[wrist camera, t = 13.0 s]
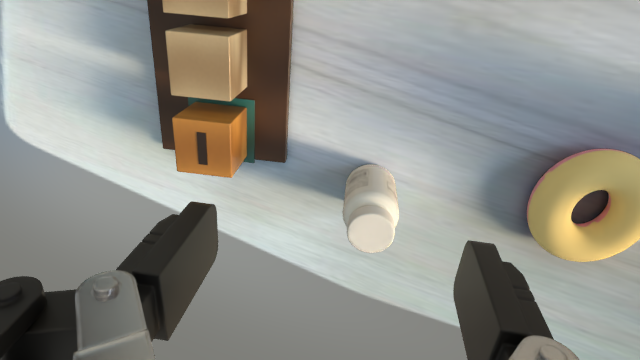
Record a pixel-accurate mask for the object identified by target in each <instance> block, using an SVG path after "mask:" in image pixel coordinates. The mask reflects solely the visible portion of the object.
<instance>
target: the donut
mask: <svg viewBox="0 0 640 360" xmlns="http://www.w3.org/2000/svg"><path fill="white" fill-rule="evenodd" d="M597 190H606V191H607V192H608V194H609V200H608V203H607V206H606V207H605V209H604V210H603V212H602V213H601V214H600V215H599V216H597V217H596V218H595V219H593V220H591V221H589V222H586V223H582V224H576V223H573V222H572V220H571V214H572V210H573V208H574V207H575V205H576V204H577V202H578V201H579V200H580V199H581V198H583V197H584V196H585V195H587V194H589V193H591V192H593V191H597ZM527 221H528V225H529V229H530V231H531V233H532V235H533V237H534V239H535V240H536V241H537V243H538V244H539V245H540V246H541V247H542V248H544V249H545V250H546V251H547V252H549V253H551V254H553V255H555V256H557V257H559V258H562V259H565V260H570V261H578V262H588V261H596V260H601V259H605V258H608V257H611V256H613V255H616V254H618V253H620V252H622V251H624V250H625V249H627V248H629V247H630V246H631V245H633V244H634V243H635V242H636V241H638V240H639V239H640V159H638V158H637V157H635V156H633V155H631V154H629V153H626V152H623V151H619V150H614V149H592V150H587V151H583V152H579V153H576V154H573V155H571V156H569V157H567V158H565V159H563V160H561V161H560V162H558V163H557V164H555V165H554V166H553V167H551V168H550V169H549V170H548V171H547V172H546V173H545V174H544V175H543V176H542V177H541V178H540V180H539V181H538V182H537V184H536V185H535V187H534V189H533V191H532V193H531V195H530V198H529V201H528V206H527Z"/></svg>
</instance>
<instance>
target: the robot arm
mask: <svg viewBox="0 0 640 360" xmlns="http://www.w3.org/2000/svg"><path fill="white" fill-rule="evenodd" d="M217 251H218V231H217V212H216V207H215V205H213V204H206V203H199V202H190V203H189V204H188V205H187V206H186V207H185V209H184V210H183V211H182V212H181V213H180V215H175V214H172V215H170V216H169V217H167V218H165V219H163V220H162V221H160V222H159V223H157V225H156V226H155V227H154V228H153V229H152V230H151V231H150V234H148V235H147V236H146V237H145V238H144V239H143V240H142V242H140V243H139V245H138V246H137V247H136V248H135V249H134V250H133V251H132V252H131V253H130V255H129V256H128V257H127V258H126V259H125V260H124V261H123V262H122V263H121V265H120V266H119V267H118V268H117V269H116V270H112V271H106V272H102V273H99V274H96V275H94V276H92V277H90V278H88V279H87V280H85V281H84V282H83V283H82V284H81V285H80V286H79V287H78V289H76V290H66V291H55V292H44V290H43V286H42V284H41V282H40V281H39V280H38V279H36V278H33V277H27V276H26V277H25V276H22V277H14V278H9V279H6V280H3V281H0V360H156V359H155V355H154V351H153V347H152V341H153V339H160V340H166V341H168V340H169V338H170V337H171V335H172V333H173V332H174V330H175V328H176V326H177V324H178V323H179V321H180V320H181V318H182V316H183V315H184V313H185V311H186V309H187V308H188V306H189V304H190V303H191V301H192V299H193V297H194V296H195V294H196V292H197V291H198V289H199V287H200V285H201V284H202V282H203V280H204V278H205V277H206V275H207V273H208V272H209V270H210V268H211V266H212V265H213V263H214V261H215V258H216V255H217ZM534 300H535V299H534V297H533V295H532V293H531V291H529V286H528V284H527V282H526V280H525V278H524V276H523V274H522V273H521V272H520V271H519V270H518V269H517V268H516V267H514V266H513V265H512V264H511V263H509V262H502V260H501V258H500V255H499V253H498V251H497V248H496V246H495V245H494V244H491V243H484V242H476V241H467V243H466V245H465V247H464V251H463V254H462V257H461V261H460V264H459V267H458V271H457V274H456V277H455V282H454V301H455V306H456V310H457V315H458V319H459V323H460V328H461V332H462V337H463V341H464V345H465V350H466V354H467V359H468V360H579V358H578V357H577V356H576V355H575V354H574V353H573V352H572V351H571V350H570V349H568V348H567V347H566V346H564V345H563V344H561V343H559V342H557V341H555V340H554V339H553V337H552V335H551V333H550V330H549V328H548V326H547V324H546V322H545V320H544V318H543V316H542V314H541V311H540V309H539V307H538V305H537V303H536V302H535V301H534Z"/></svg>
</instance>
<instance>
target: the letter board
mask: <svg viewBox="0 0 640 360" xmlns="http://www.w3.org/2000/svg"><path fill="white" fill-rule="evenodd" d="M147 2H148V11H149V21H150V30H151V40H152V49H153V58H154V68H155V77H156V86H157V96H158V105H159V115H160V124H161V133H162V143H163V148H164V149H172V150H175V143H174V133H173V122H172V118H173V117H174V116H175V115H177V114H178V113H180V112H181V111H183V110H184V109H186V108H187V107H188V106H190V105H191V104H193V103H194V102H202V103H211V104H220V105H229V106H239V107H246V108H247V156H246V158H245V159H244V161H243V162H249V163H255V159H257V160H265V161H274V162H283V163H285V161H286V159H287V138H288V115H289V92H290V69H291V46H292V23H293V0H147Z"/></svg>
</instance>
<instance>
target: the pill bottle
mask: <svg viewBox="0 0 640 360" xmlns="http://www.w3.org/2000/svg"><path fill="white" fill-rule="evenodd" d="M343 219H344V222H345V225H346V226H347V236H348V239H349V241H350V243H351V244H352V245H353V246H354V247H355V248H357V249H358V250H360V251H363V252H367V253H375V252H380V251H382V250H384V249H386V248H387V247H388V246H389V245H390V244H391V243H392V241H393V239H394V235H395V227H396V225H397V222H398V219H399V208H398V200H397V192H396V185H395V181H394V178H393V176H392V175H391V173H390V172H389V171H388V170H386V169H385V168H383V167H381V166H378V165H363V166H361V167H358V168H357V169H355V170H354V171H353V172H352V173H351V174H350V175H349V177H348V179H347V182H346V188H345V197H344V207H343Z"/></svg>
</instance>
